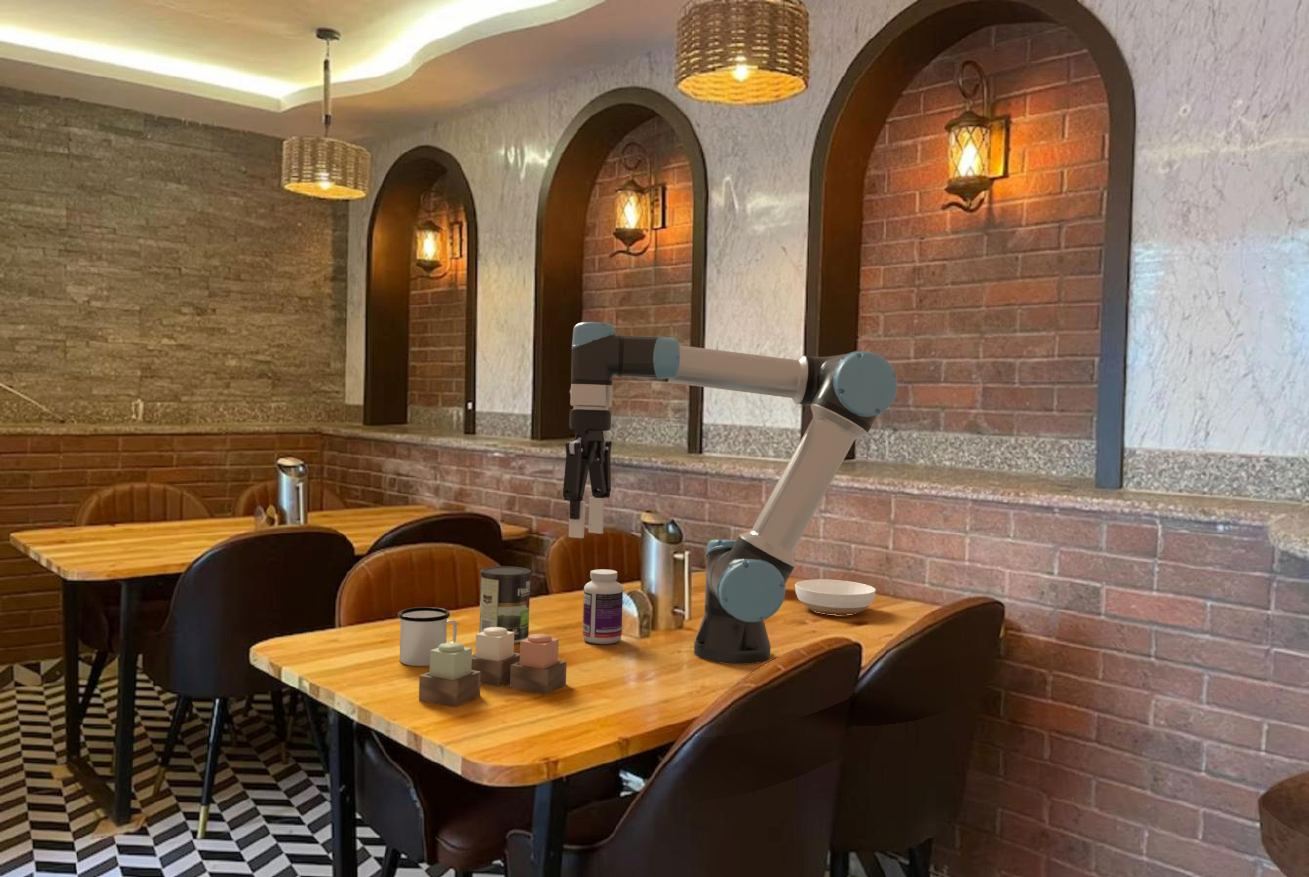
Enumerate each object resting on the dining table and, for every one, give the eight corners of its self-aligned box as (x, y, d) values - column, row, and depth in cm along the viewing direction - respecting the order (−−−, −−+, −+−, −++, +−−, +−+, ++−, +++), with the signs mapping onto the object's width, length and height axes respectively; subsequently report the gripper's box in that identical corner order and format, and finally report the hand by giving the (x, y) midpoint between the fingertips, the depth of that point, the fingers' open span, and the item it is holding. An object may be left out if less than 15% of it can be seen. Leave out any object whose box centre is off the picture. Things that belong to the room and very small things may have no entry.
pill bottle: (628, 639, 202) (630, 570, 201) (610, 647, 194) (612, 576, 194) (593, 634, 205) (596, 566, 205) (575, 642, 198) (577, 572, 197)
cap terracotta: (557, 673, 168) (558, 635, 168) (543, 680, 163) (544, 641, 163) (533, 669, 170) (534, 631, 170) (519, 675, 165) (520, 637, 165)
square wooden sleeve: (521, 676, 172) (522, 654, 172) (499, 686, 166) (500, 663, 166) (488, 670, 175) (488, 648, 175) (465, 680, 169) (466, 657, 168)
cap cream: (513, 665, 171) (514, 628, 171) (498, 672, 167) (499, 634, 167) (490, 661, 173) (491, 625, 173) (474, 668, 169) (476, 630, 169)
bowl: (885, 610, 241) (887, 586, 241) (857, 624, 224) (859, 598, 224) (812, 599, 251) (813, 576, 251) (780, 612, 235) (781, 586, 235)
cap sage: (470, 684, 160) (472, 644, 159) (453, 691, 155) (454, 650, 155) (446, 679, 162) (447, 640, 161) (429, 687, 157) (430, 646, 157)
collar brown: (565, 683, 169) (566, 661, 168) (545, 694, 162) (546, 670, 162) (531, 677, 171) (531, 655, 171) (509, 688, 165) (510, 664, 165)
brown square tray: (479, 695, 160) (480, 671, 160) (454, 706, 154) (455, 682, 154) (444, 688, 163) (445, 665, 163) (418, 699, 157) (419, 675, 156)
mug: (415, 670, 173) (416, 620, 173) (386, 659, 180) (387, 611, 179) (470, 659, 182) (471, 611, 182) (440, 649, 188) (442, 603, 188)
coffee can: (535, 634, 203) (537, 567, 202) (519, 646, 193) (521, 576, 192) (489, 630, 205) (491, 564, 204) (470, 642, 195) (472, 572, 194)
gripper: (597, 408, 186) (592, 527, 187) (544, 407, 168) (540, 539, 168) (632, 409, 183) (628, 531, 183) (583, 408, 165) (578, 543, 165)
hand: (586, 534), depth 176 cm, fingers open, 7 cm apart
